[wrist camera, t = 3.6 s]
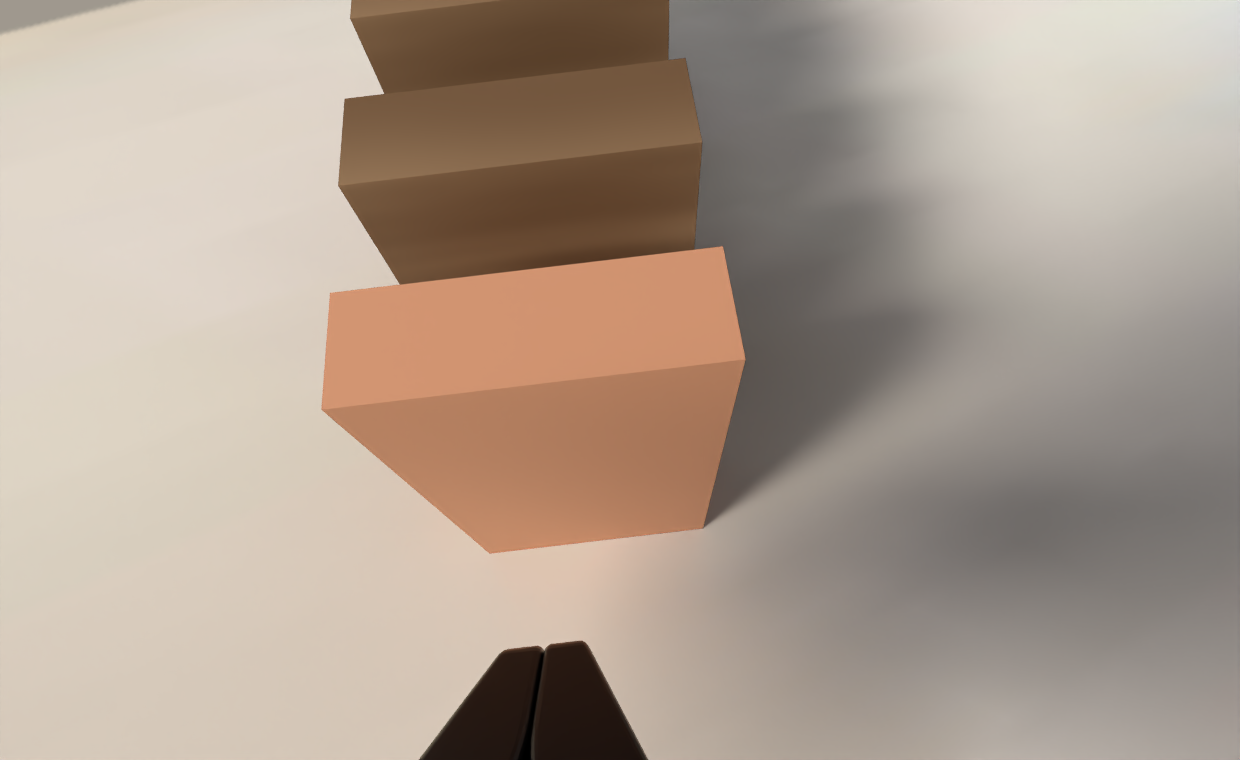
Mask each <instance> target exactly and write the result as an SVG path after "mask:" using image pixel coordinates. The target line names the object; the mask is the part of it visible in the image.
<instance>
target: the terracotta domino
mask: <svg viewBox="0 0 1240 760" xmlns="http://www.w3.org/2000/svg"><path fill="white" fill-rule="evenodd" d="M745 360H746V359H745V354H744V349H743V344H742V339H741V334H740V329H739V324H738V319H737V314H736V309H735V304H734V299H733V294H732V289H731V284H730V279H729V274H728V269H727V264H726V259H725V254H724V249H723V246H722V247H713V248H705V249H696V250H688V251H679V252H671V253H663V254H654V255H646V256H637V257H629V258H621V259H612V260H604V261H595V262H587V263H579V264H570V265H562V266H553V267H545V268H536V269H528V270H520V271H511V272H503V273H494V274H486V275H478V276H469V277H461V278H452V279H444V280H435V281H427V282H419V283H410V284H402V285H393V286H385V287H377V288H368V289H360V290H351V291H343V292H335V293H330V301H329V315H328V329H327V342H326V356H325V369H324V383H323V396H322V410H323V411H324V412H325V413H326V414H327V415H328V416H330V417H331V418H332V419H333V420H334V421H335V422H337V423H338V424H339V425H340V426H341V427H342V428H344V429H345V430H346V431H347V432H348V433H349V434H351V435H352V436H353V437H354V438H355V439H356V440H358V441H359V442H360V443H361V444H362V445H363V446H365V447H366V448H367V449H368V450H369V451H370V452H372V453H373V454H374V455H375V456H376V457H377V458H379V459H380V460H381V461H382V462H383V463H384V464H386V465H387V466H388V467H389V468H390V469H391V470H393V471H394V472H395V473H396V474H397V475H398V476H400V477H401V478H402V479H403V480H404V481H405V482H407V483H408V484H409V485H410V486H411V487H413V488H414V489H415V490H416V491H417V492H418V493H420V494H421V495H422V496H423V497H424V498H425V499H427V500H428V501H429V502H430V503H431V504H432V505H434V506H435V507H436V508H437V509H438V510H439V511H441V512H442V513H443V514H444V515H445V516H446V517H448V518H449V519H450V520H451V521H452V522H453V523H455V524H456V525H457V526H458V527H459V528H460V529H462V530H463V531H464V532H465V533H466V534H467V535H469V536H470V537H471V538H472V539H473V540H474V541H476V542H477V543H478V544H479V545H480V546H481V547H483V548H484V549H485V550H486V551H487V552H488V553H497V552H506V551H514V550H523V549H531V548H540V547H548V546H557V545H565V544H574V543H582V542H591V541H599V540H608V539H616V538H625V537H633V536H642V535H650V534H659V533H667V532H676V531H684V530H693V529H701V528H703V526H704V522H705V518H706V514H707V510H708V506H709V502H710V499H711V495H712V491H713V487H714V483H715V479H716V475H717V471H718V467H719V463H720V459H721V455H722V451H723V447H724V443H725V439H726V435H727V431H728V427H729V423H730V419H731V415H732V411H733V407H734V403H735V399H736V395H737V391H738V387H739V384H740V380H741V376H742V372H743V368H744V364H745Z"/></svg>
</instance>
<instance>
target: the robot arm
mask: <svg viewBox="0 0 1240 760" xmlns="http://www.w3.org/2000/svg"><path fill="white" fill-rule="evenodd" d="M419 760H648V759H647V757H646V755H645V753H644V751H643V749H642V747H641V745H640V743H639V741H638V739H637V738H636V736H635V734H634V732H633V730H632V728H631V726H630V724H629V722H628V720H627V719H626V717H625V715H624V713H623V711H622V709H621V707H620V705H619V703H618V701H617V699H616V698H615V696H614V694H613V692H612V690H611V688H610V686H609V684H608V682H607V680H606V678H605V677H604V675H603V673H602V671H601V669H600V667H599V665H598V663H597V661H596V659H595V657H594V656H593V654H592V652H591V650H590V648H589V646H588V645H587V644H586V643H585V642H583V641H573V642H565V643H556V644H550V645H549V646H547V647H546V649H545V651H544V650H543V649H542V648H541V647H540V646H531V647H523V648H514V649H507V650H504V651H503V652H501V653H500V654H499V655H498V656H497V658H496V659H495V660H494V662H493V663H492V664H491V665H490V667H489V668H488V669H487V671H486V672H485V673H484V675H483V676H482V677H481V679H480V680H479V681H478V683H477V684H476V685H475V687H474V688H473V689H472V691H471V692H470V693H469V694H468V696H467V697H466V698H465V700H464V701H463V702H462V704H461V705H460V706H459V708H458V709H457V710H456V712H455V713H454V714H453V716H452V717H451V718H450V719H449V721H448V722H447V723H446V725H445V726H444V727H443V729H442V730H441V731H440V733H439V734H438V735H437V737H436V738H435V739H434V741H433V742H432V743H431V744H430V746H429V747H428V748H427V750H426V751H425V752H424V754H423V755H422V756H421V758H420V759H419Z"/></svg>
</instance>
